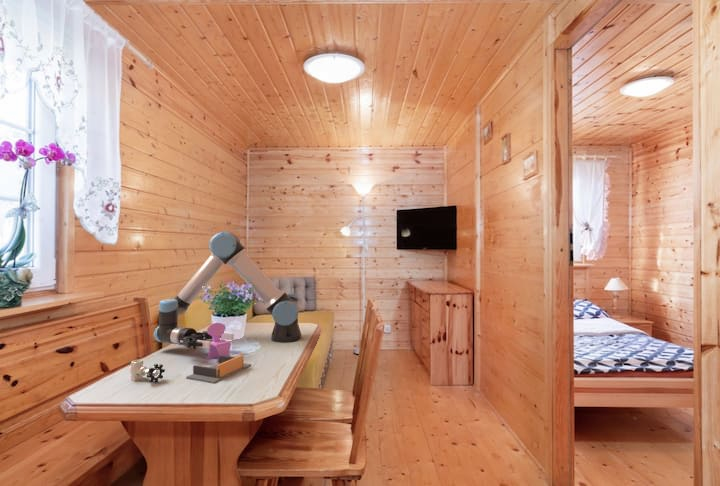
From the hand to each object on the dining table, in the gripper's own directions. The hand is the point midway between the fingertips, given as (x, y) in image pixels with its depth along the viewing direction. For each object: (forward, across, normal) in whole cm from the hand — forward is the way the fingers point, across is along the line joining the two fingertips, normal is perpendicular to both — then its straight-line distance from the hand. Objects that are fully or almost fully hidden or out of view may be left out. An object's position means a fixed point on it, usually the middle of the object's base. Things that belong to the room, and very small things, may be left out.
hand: (221, 340), depth 154 cm
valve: (-9, +28, -8) cm, 31 cm away
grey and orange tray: (+9, +12, -8) cm, 17 cm away
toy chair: (-2, 0, -8) cm, 8 cm away
